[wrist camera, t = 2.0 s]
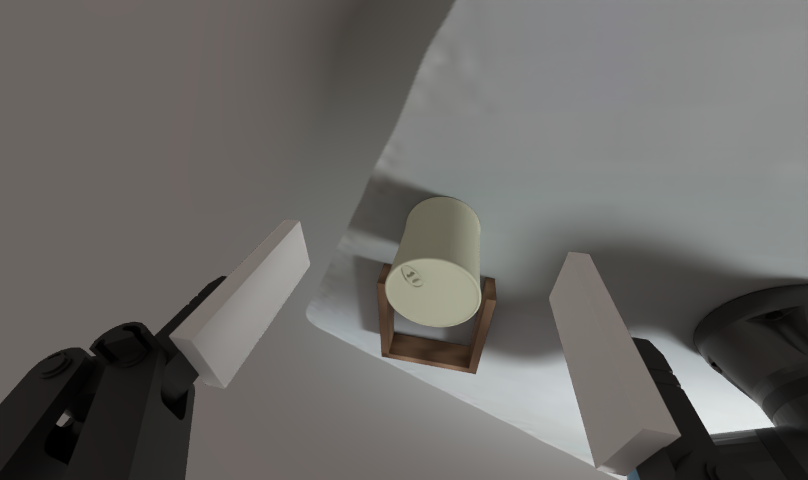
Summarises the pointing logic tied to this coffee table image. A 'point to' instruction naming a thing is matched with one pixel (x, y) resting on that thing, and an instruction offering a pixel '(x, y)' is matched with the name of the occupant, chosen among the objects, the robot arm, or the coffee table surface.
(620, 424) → the robot arm
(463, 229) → the can
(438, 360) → the bay
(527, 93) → the coffee table surface
